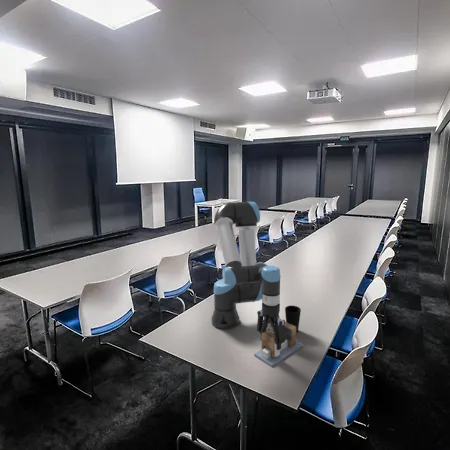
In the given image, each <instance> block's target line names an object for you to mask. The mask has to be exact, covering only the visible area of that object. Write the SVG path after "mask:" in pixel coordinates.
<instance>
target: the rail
mask: <svg viewBox="0 0 450 450" xmlns="http://www.w3.org/2000/svg"><path fill="white" fill-rule="evenodd" d="M288 341H289V340H287V339H285V342H284V343H282V344H281V349H280V355H278V356H277V357H275V358H271V350H270V349H269V348H267V347H266V348H264V349H263V350H262V348H261V349H260V350H258V351H256V352H255V353H254V357H255V358H257V359H259V360H261V361H262V362H264V363H265V364H266V365H268V366H270V367H273V366H276V365H277V364H278V363H279V362H281V361H283V360H284V359H286V358H288V357H289V356H290V355H291V354H292V353H294V352H295V351H297V350H299V349H300V348H301V347H303V345H304V344H303V342H300V341H298V340H296V345H295V346H293V347H292V348H289V347H288Z"/></svg>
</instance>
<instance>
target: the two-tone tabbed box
mask: <svg viewBox="0 0 450 450" xmlns="http://www.w3.org/2000/svg"><path fill="white" fill-rule="evenodd" d="M274 342H276V340H275V336H274V332H273V331H271V330H270V329H266V331H265V332H263V333H262V341H261V349H262V350H263V349H264V348H266V347H267V348H269V349H270V350H271V358H275V356H274Z"/></svg>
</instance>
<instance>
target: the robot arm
mask: <svg viewBox="0 0 450 450" xmlns="http://www.w3.org/2000/svg"><path fill="white" fill-rule="evenodd" d="M213 218H214V220H213V222H214V228H215V229H216V230H217V233H218V237H219V242H220V245H221V251H222V252H221V253H222V256H223V260H224V264H225V267H223V269H222V271H221V272H222V278H221V279H218V280H217V281H216V282H214V285H213V301H214V303H213V304H214V308H213V309H214V310H213V313H212V315H211V325H212V327H213V326H214V327H215V328H216V329H217V328H218V329H220V330H221V329H222V330H228V329H233V328H236V327H237V326H238V325H240V315H239V312H238V311H237V304H244V303H255V302H260V301H261V309H260V310H258V311H257V312H256V313H257V325H256V332H259V334H260V341H261V342H262V333H263V332H265V331H267V330H268V327H269V324H270V327H271V329H272V332H273V333H274V336H275V340H276V342H274V356H275V357H277V356H278V355H280V349H281V344H282V343H284V342H285V328H284V324H285V322H286V319H282V318H281V317H280V311H281V310H280V307H281V303H280V302H281V276H282V275H281V270H280V269H281V268H279V266H275V265H268V264H266V263H264V262H262V261H259V262H257V256H256V237H255V236H256V235H255V229H256V228H257V226H258V223H260V221H261V211H260V209H259V206H258V204H257V203H256V202H255V201H236V202H230V201H229V202H225V203H223V204H222V205H221V206H219V207H218V208H217V210H216V212H215V215H214V217H213ZM233 225H235V228H236V229H237V232H238V243H239V245H238V244H237V240H236V236H235V233H234V228H233ZM238 247H239V248H238Z"/></svg>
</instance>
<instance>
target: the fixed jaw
mask: <svg viewBox="0 0 450 450" xmlns="http://www.w3.org/2000/svg"><path fill="white" fill-rule="evenodd" d="M284 328H285V339H287V340H289V341H288V347H289V348H292V347H293V346H295V345H296V341H297V333H296V326H293V325H291V324H289V323H287V322H286V321H285V324H284Z"/></svg>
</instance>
